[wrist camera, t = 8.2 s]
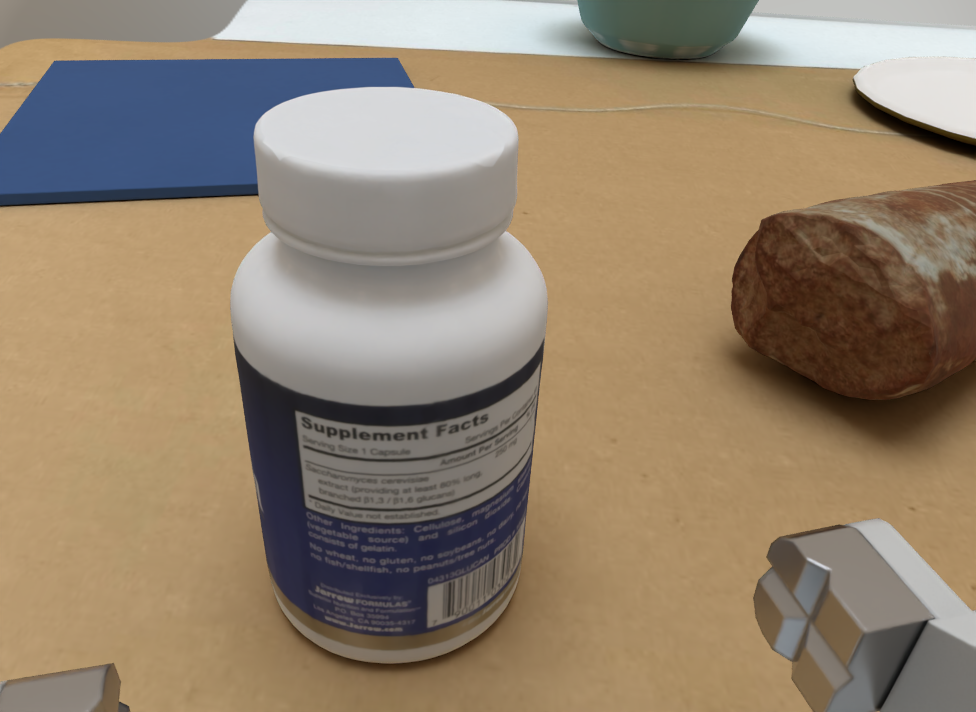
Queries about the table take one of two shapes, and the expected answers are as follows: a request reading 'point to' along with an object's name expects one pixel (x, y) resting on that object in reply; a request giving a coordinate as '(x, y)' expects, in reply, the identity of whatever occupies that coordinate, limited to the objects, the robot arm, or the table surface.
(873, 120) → the table surface
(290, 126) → the pill bottle
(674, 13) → the bowl
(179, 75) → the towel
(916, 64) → the plate
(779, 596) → the robot arm
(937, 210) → the brown rounded cylinder
